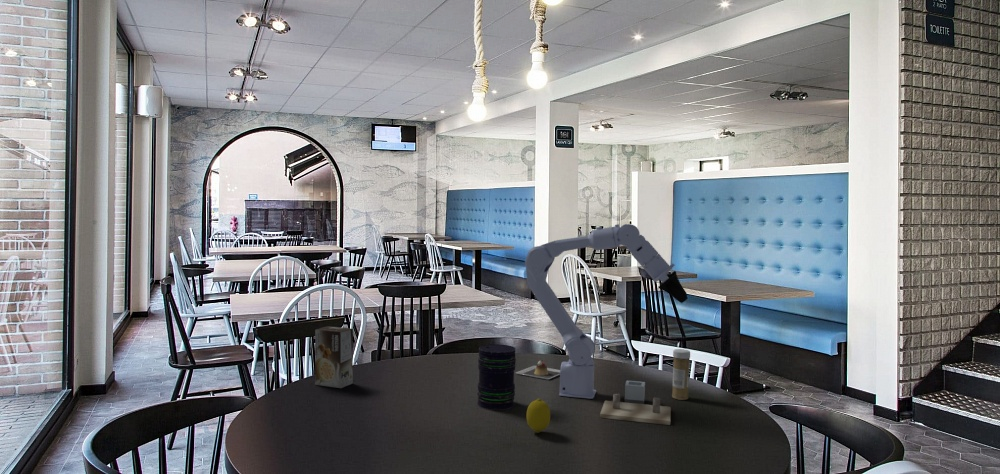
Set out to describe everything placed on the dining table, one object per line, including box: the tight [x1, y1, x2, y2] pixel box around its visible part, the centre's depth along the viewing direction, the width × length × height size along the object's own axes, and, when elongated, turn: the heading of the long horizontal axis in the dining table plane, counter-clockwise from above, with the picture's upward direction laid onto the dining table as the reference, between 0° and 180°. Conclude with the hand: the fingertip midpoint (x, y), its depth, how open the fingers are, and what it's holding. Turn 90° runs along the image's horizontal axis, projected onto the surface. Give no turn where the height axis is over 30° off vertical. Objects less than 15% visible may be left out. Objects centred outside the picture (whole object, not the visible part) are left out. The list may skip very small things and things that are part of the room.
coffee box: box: [314, 325, 354, 389], centre depth 187 cm, size 9×6×16 cm
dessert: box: [515, 359, 560, 381], centre depth 206 cm, size 12×12×5 cm
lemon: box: [526, 398, 551, 434], centre depth 151 cm, size 6×6×8 cm
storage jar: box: [477, 343, 517, 411], centre depth 172 cm, size 10×10×15 cm
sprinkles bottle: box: [671, 348, 691, 401], centre depth 182 cm, size 5×5×13 cm
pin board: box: [599, 393, 672, 426], centre depth 167 cm, size 17×12×4 cm
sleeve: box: [624, 380, 646, 404], centre depth 178 cm, size 5×5×5 cm
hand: (684, 299), depth 175 cm, fingers open, 7 cm apart
